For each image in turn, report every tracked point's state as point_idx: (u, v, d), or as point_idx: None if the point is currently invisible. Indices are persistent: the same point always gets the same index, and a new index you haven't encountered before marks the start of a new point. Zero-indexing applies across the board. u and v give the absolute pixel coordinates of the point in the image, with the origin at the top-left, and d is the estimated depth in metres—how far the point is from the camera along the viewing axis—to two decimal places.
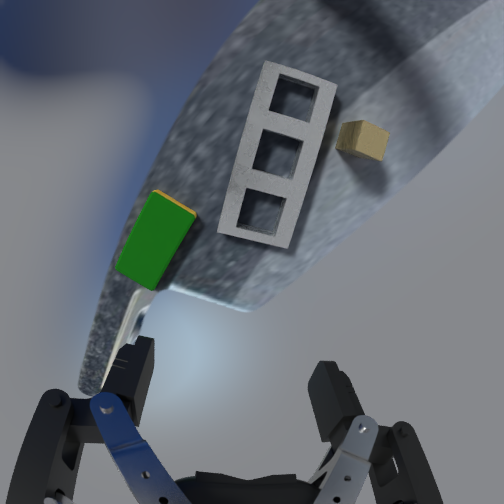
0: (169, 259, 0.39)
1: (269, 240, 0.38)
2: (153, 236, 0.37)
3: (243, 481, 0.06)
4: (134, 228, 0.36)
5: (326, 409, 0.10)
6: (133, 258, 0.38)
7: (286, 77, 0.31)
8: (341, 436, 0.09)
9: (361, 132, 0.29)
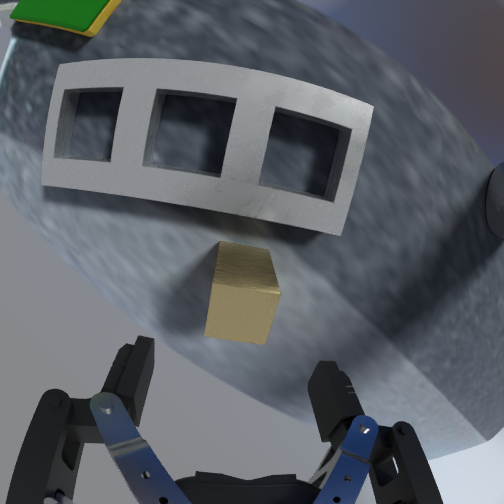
0: (37, 19, 0.11)
1: (48, 149, 0.16)
2: None
3: (243, 481, 0.06)
4: None
5: (326, 409, 0.10)
6: None
7: (343, 144, 0.18)
8: (341, 436, 0.09)
9: (252, 292, 0.16)
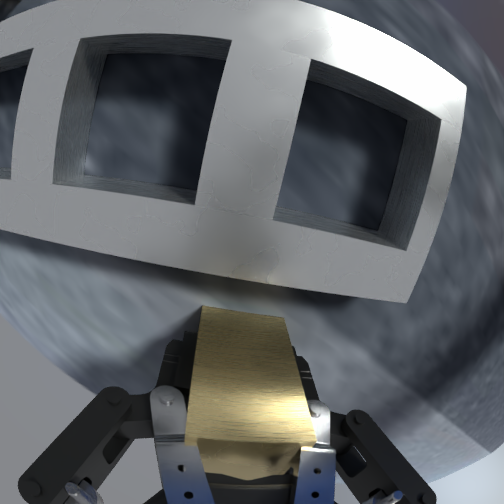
0: None
1: None
2: None
3: (243, 481, 0.06)
4: None
5: None
6: None
7: (420, 144, 0.09)
8: None
9: (264, 445, 0.07)
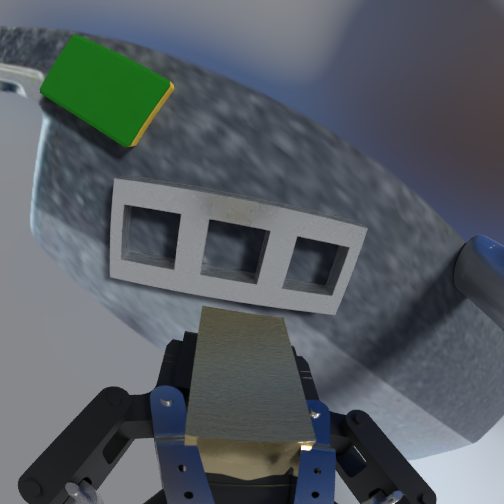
0: (73, 112, 0.19)
1: (115, 252, 0.24)
2: (105, 86, 0.19)
3: (243, 481, 0.06)
4: (120, 57, 0.18)
5: None
6: (81, 59, 0.17)
7: (342, 254, 0.27)
8: None
9: (263, 445, 0.07)
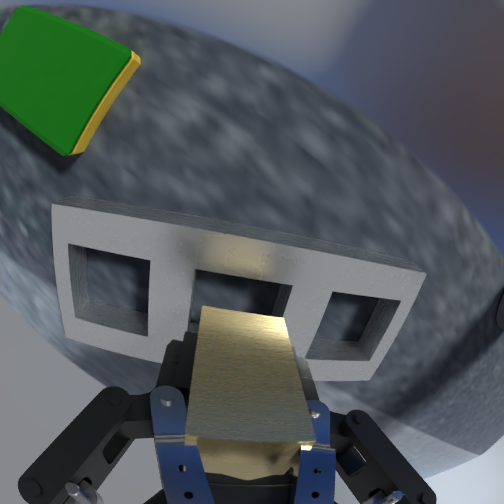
0: (5, 107, 0.10)
1: (66, 307, 0.15)
2: (43, 66, 0.10)
3: (243, 481, 0.06)
4: (66, 24, 0.09)
5: None
6: (21, 34, 0.08)
7: (387, 306, 0.18)
8: None
9: (263, 444, 0.07)
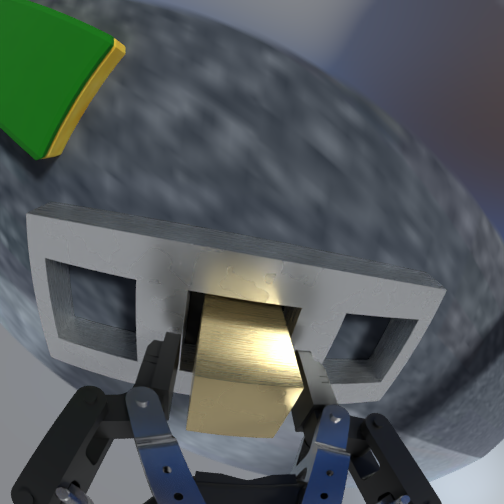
0: None
1: (48, 327, 0.13)
2: (19, 59, 0.07)
3: (243, 481, 0.06)
4: (47, 11, 0.06)
5: (299, 398, 0.11)
6: (1, 25, 0.06)
7: (402, 325, 0.16)
8: (313, 426, 0.09)
9: (259, 388, 0.09)
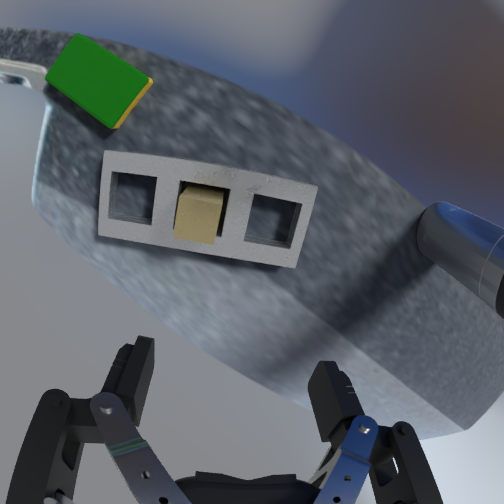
0: (71, 97, 0.23)
1: (103, 212, 0.28)
2: (98, 78, 0.22)
3: (243, 481, 0.06)
4: (112, 55, 0.22)
5: (326, 409, 0.10)
6: (81, 54, 0.21)
7: (297, 211, 0.31)
8: (341, 436, 0.09)
9: (204, 203, 0.24)
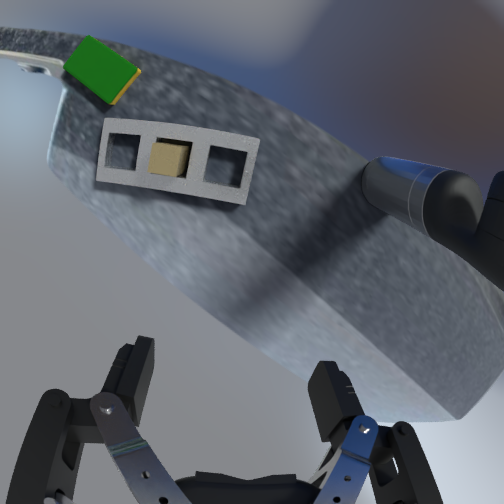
0: (82, 81, 0.31)
1: (101, 162, 0.36)
2: (102, 68, 0.31)
3: (243, 481, 0.06)
4: (112, 52, 0.30)
5: (326, 409, 0.10)
6: (90, 51, 0.29)
7: (246, 159, 0.39)
8: (341, 436, 0.09)
9: (169, 146, 0.32)
